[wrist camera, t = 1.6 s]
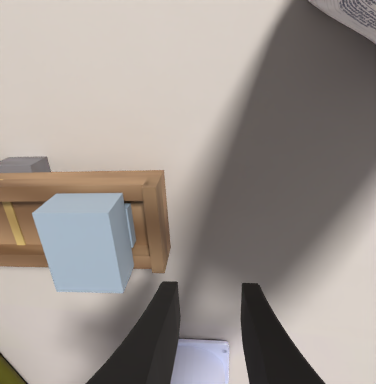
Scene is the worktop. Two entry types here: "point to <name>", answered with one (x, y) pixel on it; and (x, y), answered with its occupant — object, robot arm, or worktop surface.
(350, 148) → the worktop surface
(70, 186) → the wooden tray
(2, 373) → the spaceship
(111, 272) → the block
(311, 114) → the worktop surface
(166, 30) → the worktop surface
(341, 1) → the juice carton
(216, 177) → the worktop surface
